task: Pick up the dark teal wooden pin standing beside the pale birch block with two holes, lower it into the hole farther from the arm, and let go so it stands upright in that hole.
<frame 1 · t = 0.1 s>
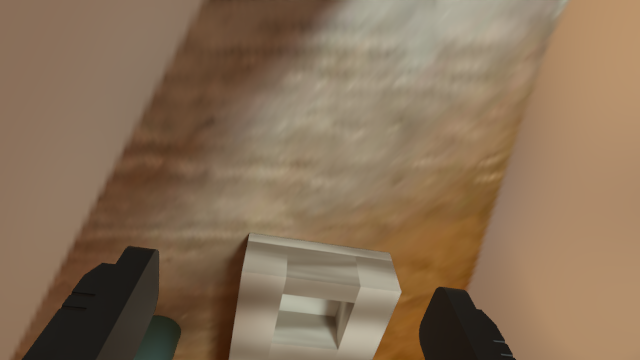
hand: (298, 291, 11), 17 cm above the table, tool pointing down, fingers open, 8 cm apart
pin: (159, 330, 36), on the table
hole board: (301, 317, 36), on the table
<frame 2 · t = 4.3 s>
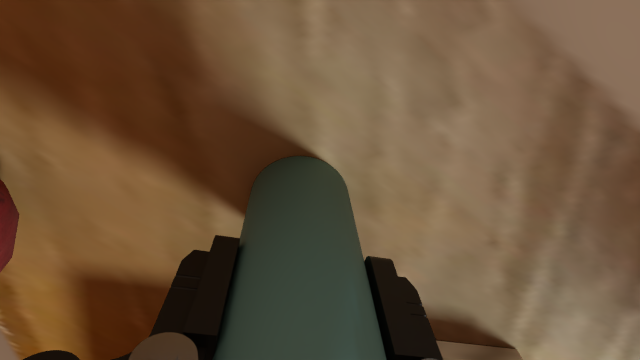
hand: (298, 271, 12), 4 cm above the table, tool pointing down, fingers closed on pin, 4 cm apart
pin: (299, 200, 16), on the table, touching gripper
when the fingers open (6 cm above the table, at t = 9.9 s): pin stays where it is, resting on hole board.
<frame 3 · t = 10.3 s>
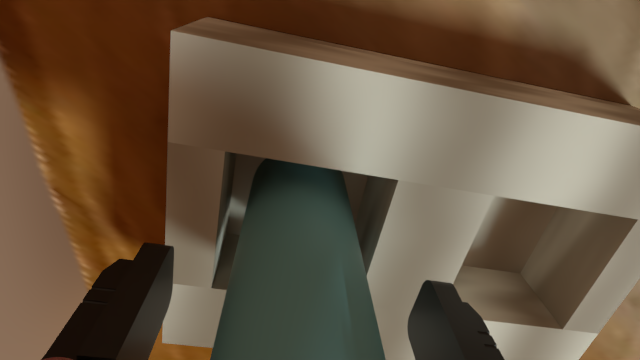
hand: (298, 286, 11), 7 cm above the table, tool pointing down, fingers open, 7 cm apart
pin: (298, 189, 16), point 1 cm above the table, touching hole board
hole board: (393, 193, 18), on the table
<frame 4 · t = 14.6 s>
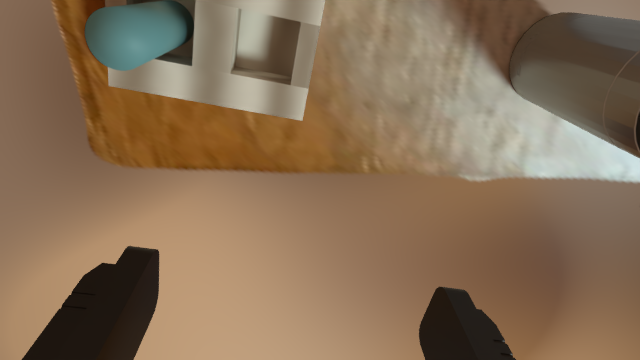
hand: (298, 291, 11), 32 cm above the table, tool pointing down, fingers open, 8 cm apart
pin: (172, 23, 36), point 1 cm above the table, touching hole board
hole board: (222, 32, 38), on the table
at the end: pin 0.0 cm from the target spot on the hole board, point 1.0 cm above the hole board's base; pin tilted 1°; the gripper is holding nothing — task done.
